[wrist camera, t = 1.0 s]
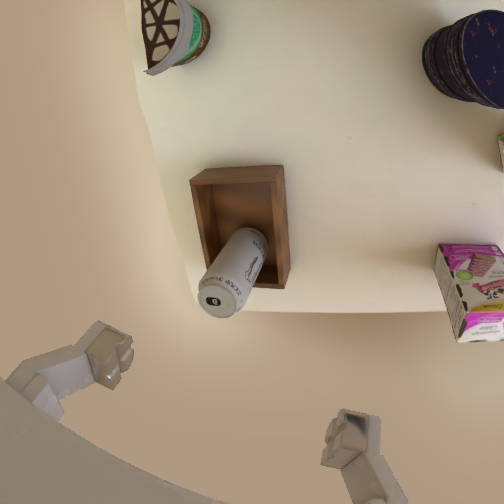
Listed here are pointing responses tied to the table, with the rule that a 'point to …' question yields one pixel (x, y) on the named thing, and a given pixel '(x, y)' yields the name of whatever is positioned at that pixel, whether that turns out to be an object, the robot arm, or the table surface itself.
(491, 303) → the candy bar box
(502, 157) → the syrup box
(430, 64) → the blue barrel
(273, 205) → the wooden tray
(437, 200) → the table surface
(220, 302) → the energy drink can
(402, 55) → the table surface
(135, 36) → the table surface
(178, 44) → the food container
